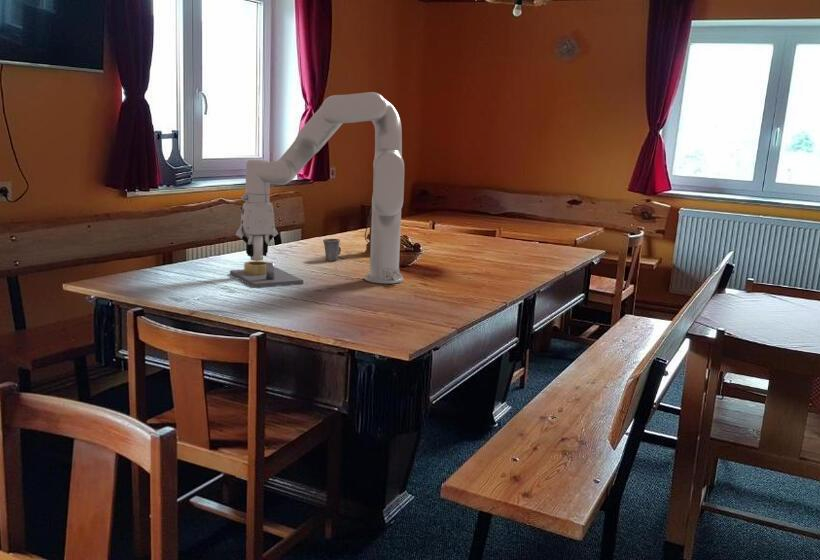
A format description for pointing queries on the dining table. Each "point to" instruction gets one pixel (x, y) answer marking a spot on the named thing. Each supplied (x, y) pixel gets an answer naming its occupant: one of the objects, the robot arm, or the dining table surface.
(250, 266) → the brass socket
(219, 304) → the dining table surface
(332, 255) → the grey mug
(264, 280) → the fitting board
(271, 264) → the small stub
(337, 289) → the dining table surface
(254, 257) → the white rounded peg
